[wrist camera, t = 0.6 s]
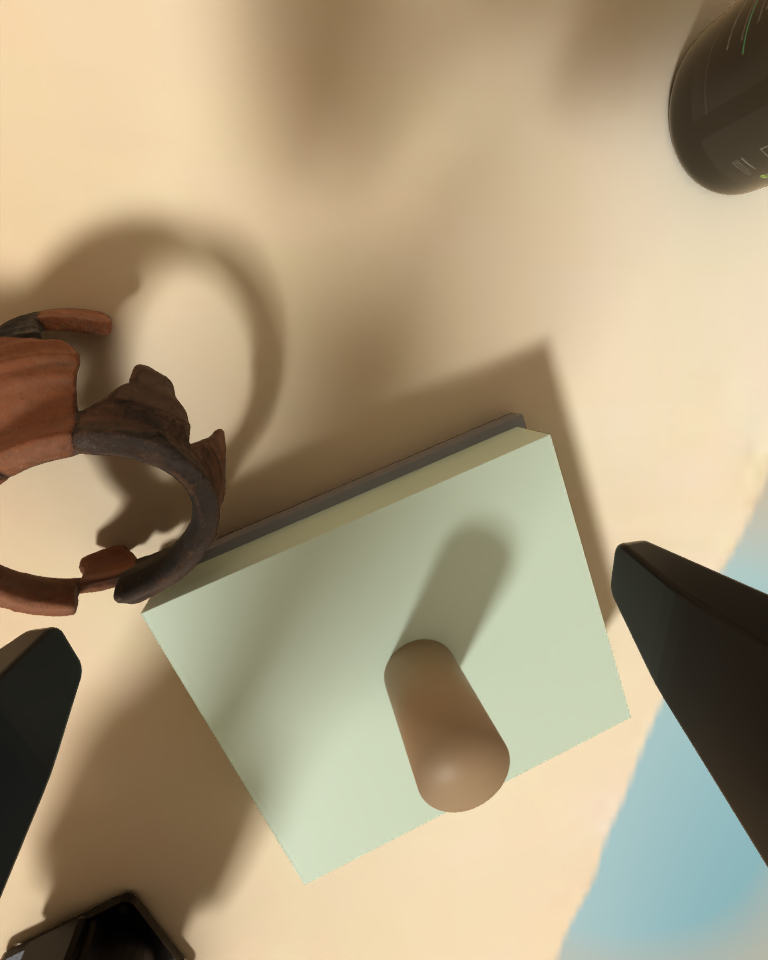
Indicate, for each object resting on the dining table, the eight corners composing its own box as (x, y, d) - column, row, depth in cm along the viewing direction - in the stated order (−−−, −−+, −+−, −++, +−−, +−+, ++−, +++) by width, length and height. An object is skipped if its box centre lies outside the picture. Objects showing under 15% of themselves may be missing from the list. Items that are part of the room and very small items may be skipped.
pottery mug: (185, 282, 19) (233, 376, 13) (212, 474, 24) (253, 596, 19) (-259, 293, 14) (-485, 453, 8) (-94, 530, 20) (-160, 717, 14)
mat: (590, 671, 26) (602, 682, 25) (297, 817, 24) (298, 835, 23) (511, 412, 22) (522, 414, 21) (153, 566, 20) (146, 576, 19)
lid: (593, 680, 25) (726, 812, 17) (302, 825, 23) (310, 1040, 16) (516, 426, 21) (643, 456, 14) (160, 580, 19) (82, 710, 12)
